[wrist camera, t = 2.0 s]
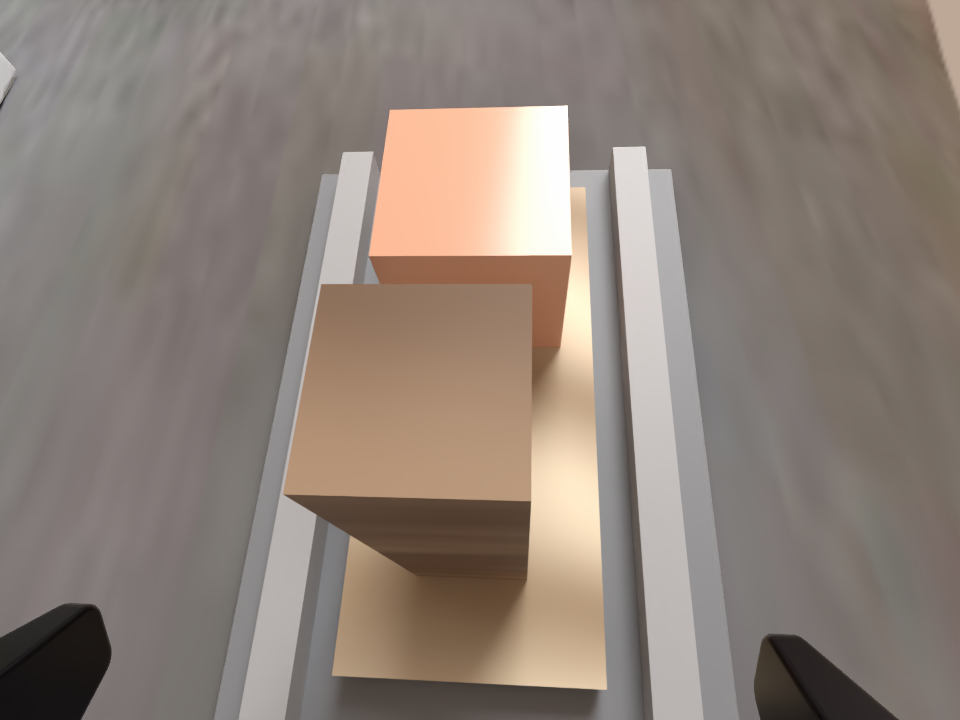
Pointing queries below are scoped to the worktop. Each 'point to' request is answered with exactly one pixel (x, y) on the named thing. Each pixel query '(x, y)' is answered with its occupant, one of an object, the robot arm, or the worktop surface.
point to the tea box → (5, 76)
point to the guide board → (621, 484)
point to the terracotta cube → (478, 204)
